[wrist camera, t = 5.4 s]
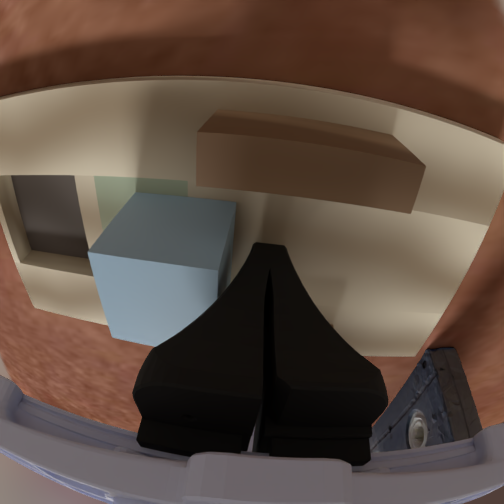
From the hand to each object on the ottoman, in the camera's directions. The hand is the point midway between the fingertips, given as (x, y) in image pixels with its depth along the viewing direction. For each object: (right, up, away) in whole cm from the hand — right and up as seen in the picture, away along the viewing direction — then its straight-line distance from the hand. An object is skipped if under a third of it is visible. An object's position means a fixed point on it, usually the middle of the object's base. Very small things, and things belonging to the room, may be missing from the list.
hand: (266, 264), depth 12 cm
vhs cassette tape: (+12, -13, +12) cm, 22 cm away
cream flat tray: (-2, +2, +2) cm, 3 cm away
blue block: (-3, +1, +1) cm, 4 cm away
